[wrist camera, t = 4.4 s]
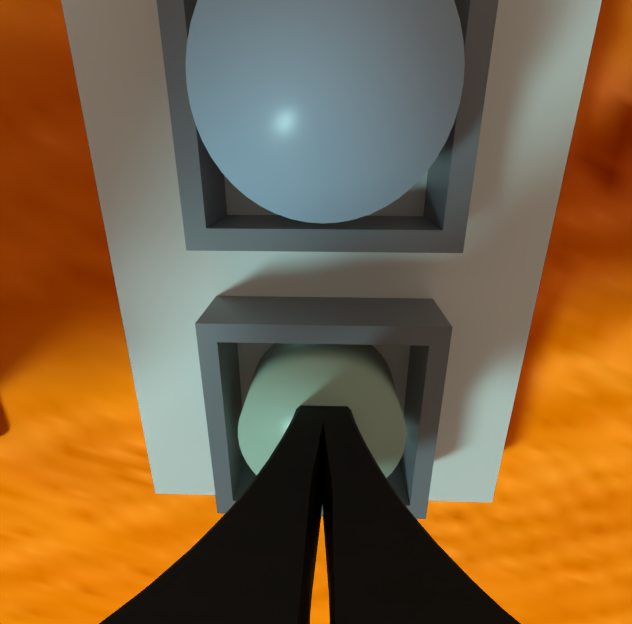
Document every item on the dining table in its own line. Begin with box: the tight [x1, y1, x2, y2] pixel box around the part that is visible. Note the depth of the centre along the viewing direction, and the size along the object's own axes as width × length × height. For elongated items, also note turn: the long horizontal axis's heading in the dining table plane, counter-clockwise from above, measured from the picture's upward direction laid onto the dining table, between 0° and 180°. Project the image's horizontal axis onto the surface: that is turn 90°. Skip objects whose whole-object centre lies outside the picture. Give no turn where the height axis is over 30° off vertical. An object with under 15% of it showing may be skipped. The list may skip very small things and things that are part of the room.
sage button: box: [238, 343, 406, 478], centre depth 12 cm, size 4×4×2 cm
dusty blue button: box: [186, 0, 465, 223], centre depth 7 cm, size 4×4×2 cm
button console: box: [61, 0, 602, 519], centre depth 10 cm, size 12×25×4 cm, turn 0°
